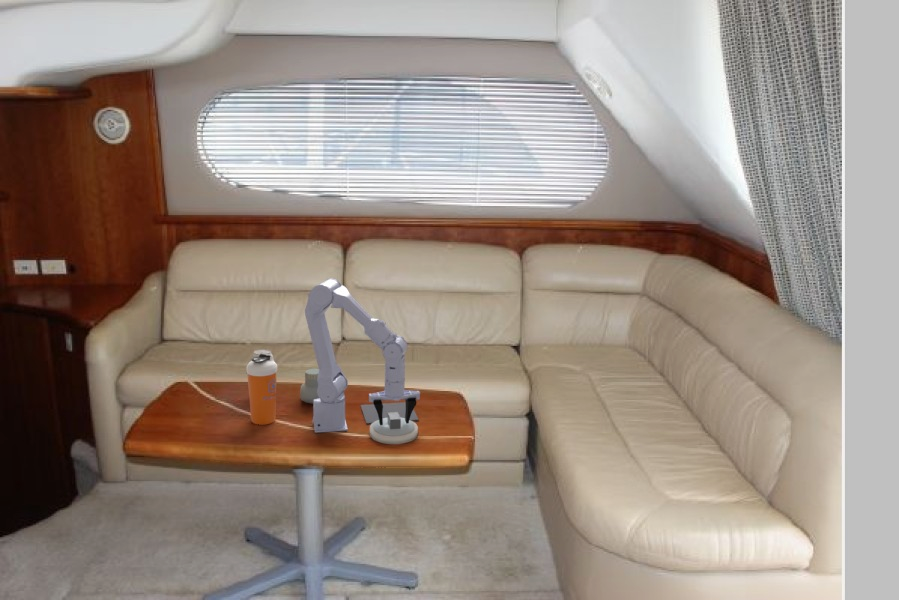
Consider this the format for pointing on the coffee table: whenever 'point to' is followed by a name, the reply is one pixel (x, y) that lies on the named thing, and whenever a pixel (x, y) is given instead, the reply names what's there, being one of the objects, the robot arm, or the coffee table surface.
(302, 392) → the air freshener
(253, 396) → the shaker bottle
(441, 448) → the coffee table surface
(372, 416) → the mat
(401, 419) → the lid
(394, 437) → the dish
